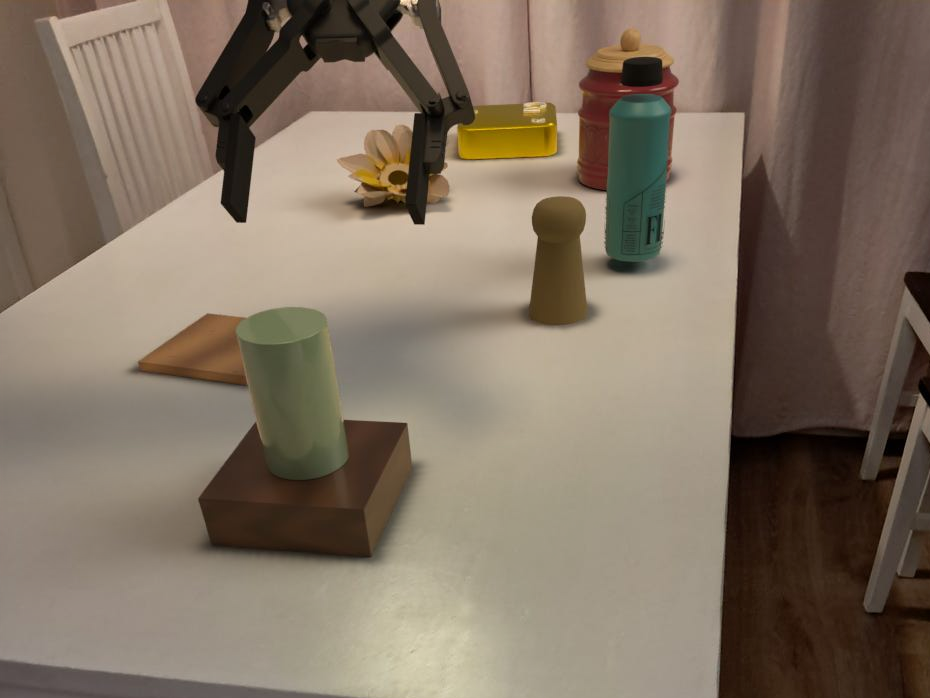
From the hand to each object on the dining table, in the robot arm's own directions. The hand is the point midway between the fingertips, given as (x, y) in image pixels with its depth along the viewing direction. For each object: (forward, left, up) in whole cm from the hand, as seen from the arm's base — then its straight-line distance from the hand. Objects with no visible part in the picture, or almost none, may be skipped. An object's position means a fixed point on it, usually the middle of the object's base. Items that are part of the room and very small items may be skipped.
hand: (322, 214), depth 66 cm
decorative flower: (-23, +59, -18) cm, 66 cm away
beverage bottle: (+13, +44, -18) cm, 49 cm away
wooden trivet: (-20, +12, -18) cm, 29 cm away
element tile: (-18, +90, -18) cm, 93 cm away
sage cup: (+2, -10, -14) cm, 17 cm away
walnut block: (+2, -10, -18) cm, 21 cm away
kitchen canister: (+4, +76, -18) cm, 78 cm away
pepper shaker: (+9, +29, -18) cm, 35 cm away
